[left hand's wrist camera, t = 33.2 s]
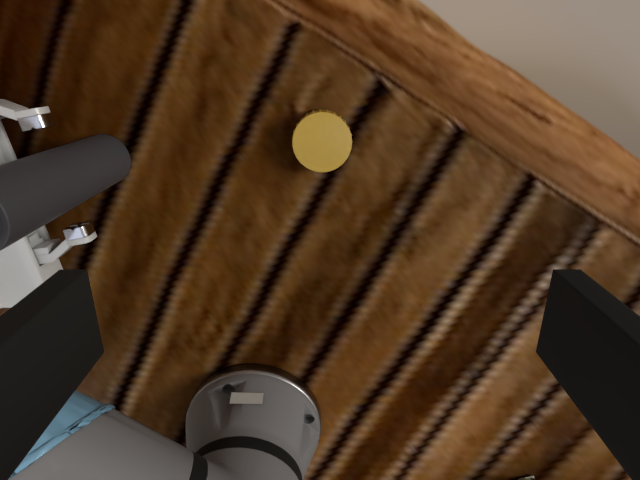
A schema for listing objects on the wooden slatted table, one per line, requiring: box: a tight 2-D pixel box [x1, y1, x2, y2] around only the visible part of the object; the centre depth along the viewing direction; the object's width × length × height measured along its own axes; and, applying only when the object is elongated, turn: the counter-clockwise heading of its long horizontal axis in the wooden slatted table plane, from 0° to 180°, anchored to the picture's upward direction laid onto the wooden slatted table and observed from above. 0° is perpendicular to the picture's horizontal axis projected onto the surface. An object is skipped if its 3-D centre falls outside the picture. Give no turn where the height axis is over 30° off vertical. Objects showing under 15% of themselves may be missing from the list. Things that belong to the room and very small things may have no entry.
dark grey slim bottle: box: [0, 134, 131, 251], centre depth 32 cm, size 4×4×20 cm
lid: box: [292, 109, 352, 172], centre depth 40 cm, size 5×5×2 cm
